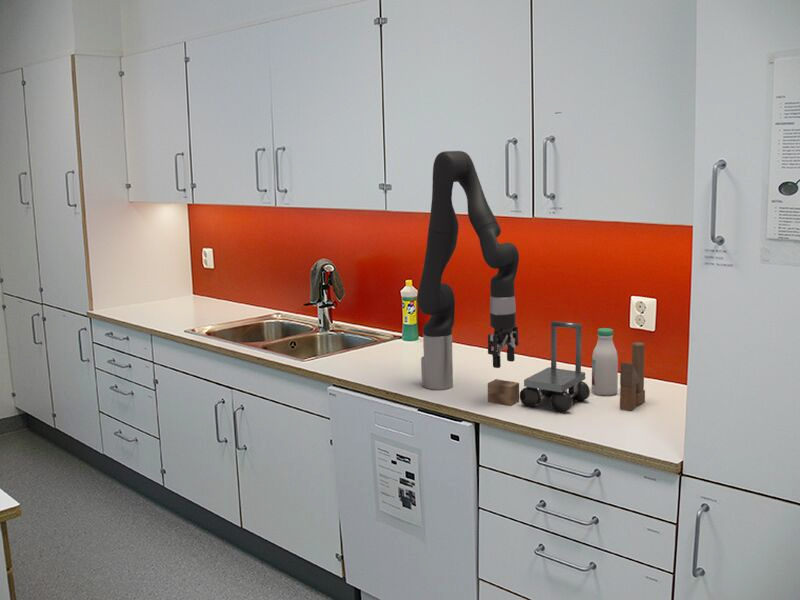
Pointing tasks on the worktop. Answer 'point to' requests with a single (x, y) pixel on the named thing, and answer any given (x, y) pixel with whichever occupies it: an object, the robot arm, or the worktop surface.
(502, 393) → the block
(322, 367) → the worktop surface
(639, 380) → the wooden block
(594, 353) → the milk bottle
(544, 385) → the trolley
